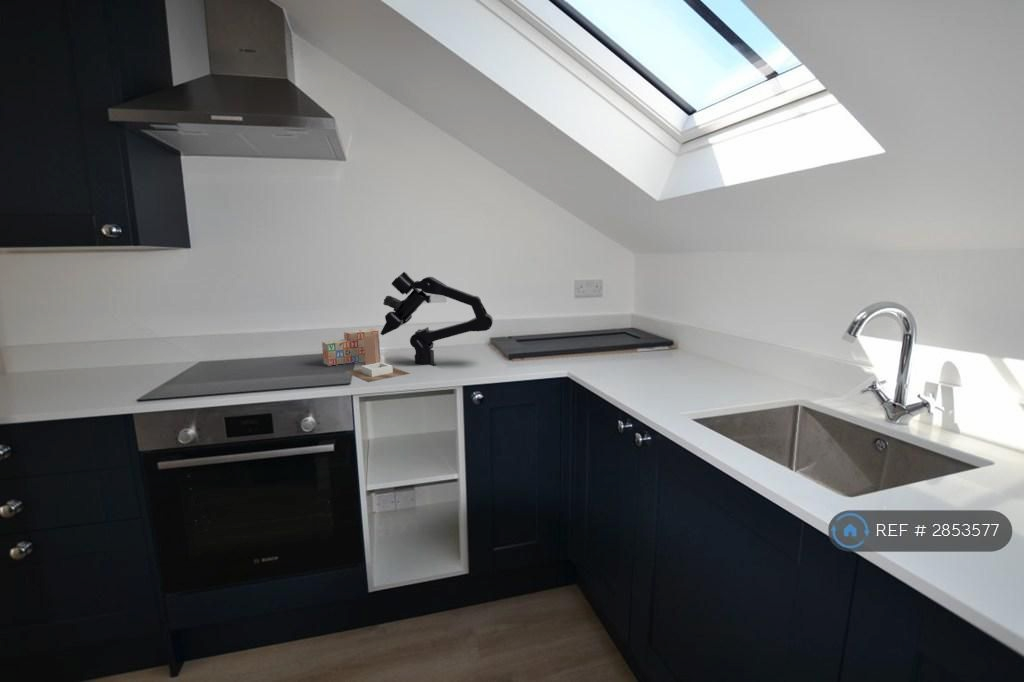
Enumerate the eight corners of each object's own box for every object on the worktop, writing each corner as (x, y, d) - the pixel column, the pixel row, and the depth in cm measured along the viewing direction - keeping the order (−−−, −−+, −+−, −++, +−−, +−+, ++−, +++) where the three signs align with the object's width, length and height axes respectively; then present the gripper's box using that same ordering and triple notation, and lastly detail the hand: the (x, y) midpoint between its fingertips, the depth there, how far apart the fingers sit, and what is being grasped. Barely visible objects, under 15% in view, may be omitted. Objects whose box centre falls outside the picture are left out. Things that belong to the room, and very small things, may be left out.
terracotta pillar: (379, 365, 186) (377, 334, 183) (376, 368, 182) (374, 336, 180) (369, 365, 186) (367, 334, 184) (366, 368, 182) (363, 336, 180)
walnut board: (385, 367, 183) (385, 364, 182) (410, 376, 169) (410, 373, 169) (345, 375, 172) (344, 371, 172) (368, 385, 158) (368, 382, 158)
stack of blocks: (328, 367, 185) (326, 336, 182) (323, 364, 189) (320, 334, 187) (380, 359, 198) (378, 330, 195) (374, 356, 203) (372, 328, 200)
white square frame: (382, 368, 176) (381, 362, 175) (392, 372, 170) (392, 365, 169) (361, 372, 170) (361, 365, 170) (372, 376, 165) (371, 369, 164)
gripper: (402, 286, 187) (376, 314, 190) (389, 290, 169) (360, 321, 171) (422, 305, 189) (397, 333, 191) (412, 312, 170) (383, 342, 173)
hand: (384, 332), depth 181 cm, fingers open, 9 cm apart
